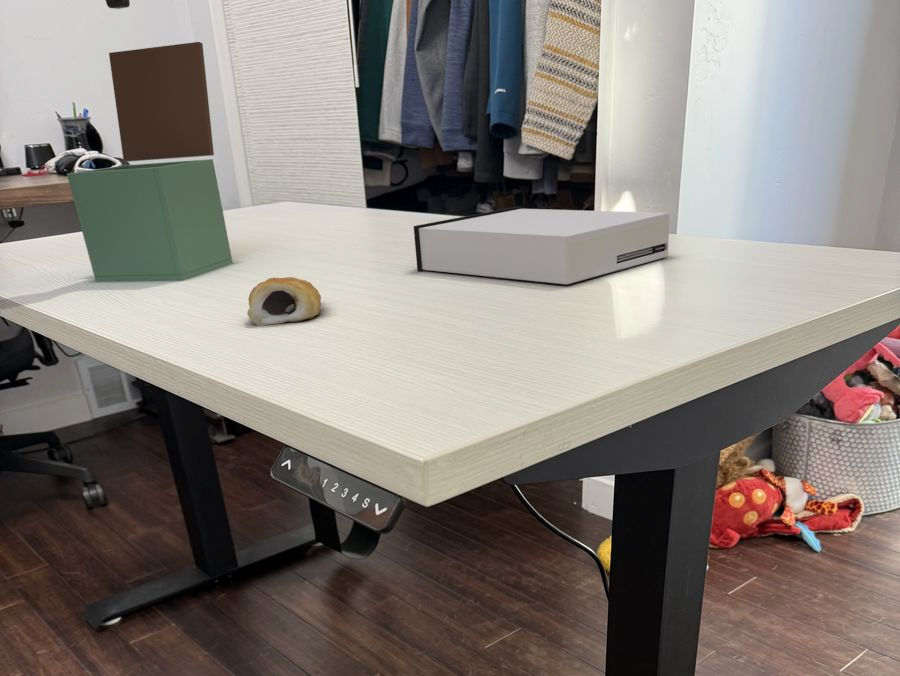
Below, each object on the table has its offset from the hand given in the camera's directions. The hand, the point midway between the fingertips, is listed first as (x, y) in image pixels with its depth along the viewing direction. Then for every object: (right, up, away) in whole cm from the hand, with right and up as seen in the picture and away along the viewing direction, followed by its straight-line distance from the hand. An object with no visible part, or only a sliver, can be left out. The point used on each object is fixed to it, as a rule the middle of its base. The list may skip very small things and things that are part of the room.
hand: (119, 7), depth 101 cm
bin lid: (+2, -6, +9) cm, 11 cm away
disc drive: (+49, -32, -3) cm, 59 cm away
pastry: (+23, -42, -17) cm, 51 cm away
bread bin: (+1, -26, +13) cm, 29 cm away
